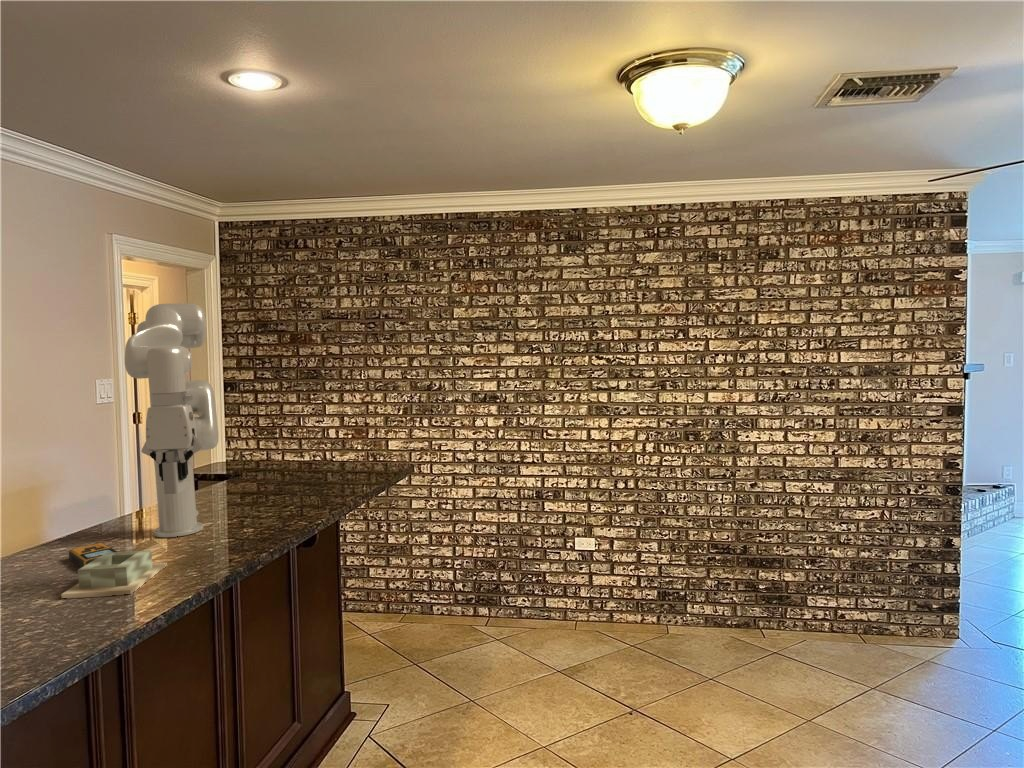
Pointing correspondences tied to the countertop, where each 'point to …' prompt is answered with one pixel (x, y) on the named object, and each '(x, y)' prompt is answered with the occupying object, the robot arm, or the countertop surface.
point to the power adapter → (172, 473)
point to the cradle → (114, 574)
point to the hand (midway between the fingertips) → (174, 478)
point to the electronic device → (88, 553)
